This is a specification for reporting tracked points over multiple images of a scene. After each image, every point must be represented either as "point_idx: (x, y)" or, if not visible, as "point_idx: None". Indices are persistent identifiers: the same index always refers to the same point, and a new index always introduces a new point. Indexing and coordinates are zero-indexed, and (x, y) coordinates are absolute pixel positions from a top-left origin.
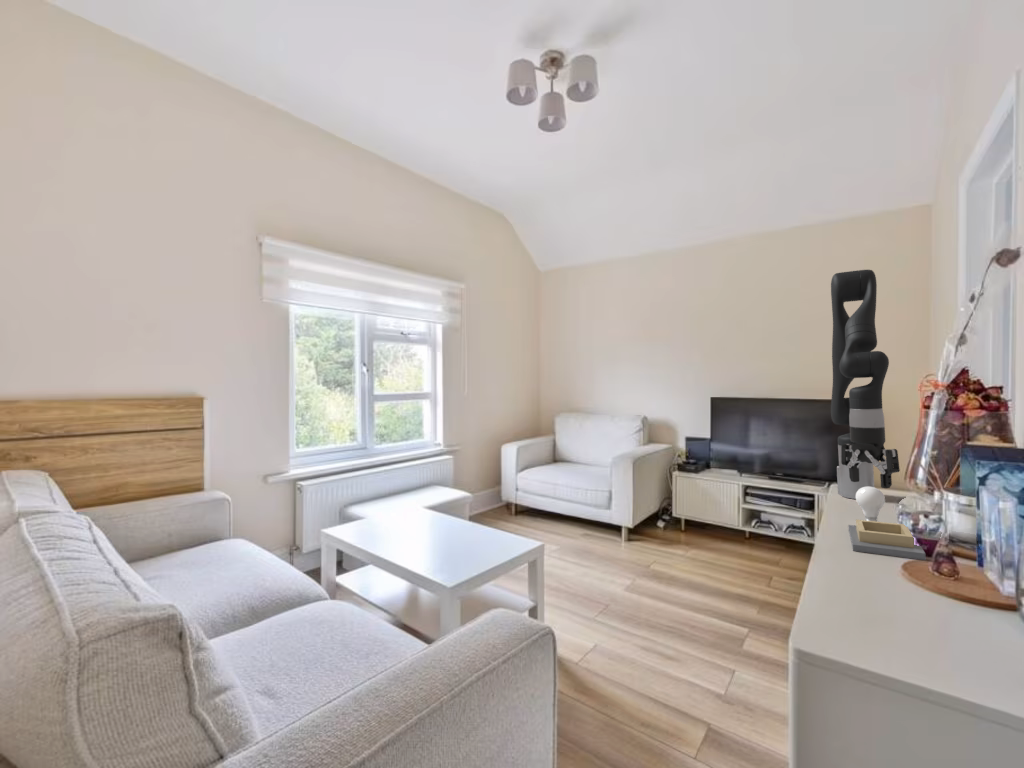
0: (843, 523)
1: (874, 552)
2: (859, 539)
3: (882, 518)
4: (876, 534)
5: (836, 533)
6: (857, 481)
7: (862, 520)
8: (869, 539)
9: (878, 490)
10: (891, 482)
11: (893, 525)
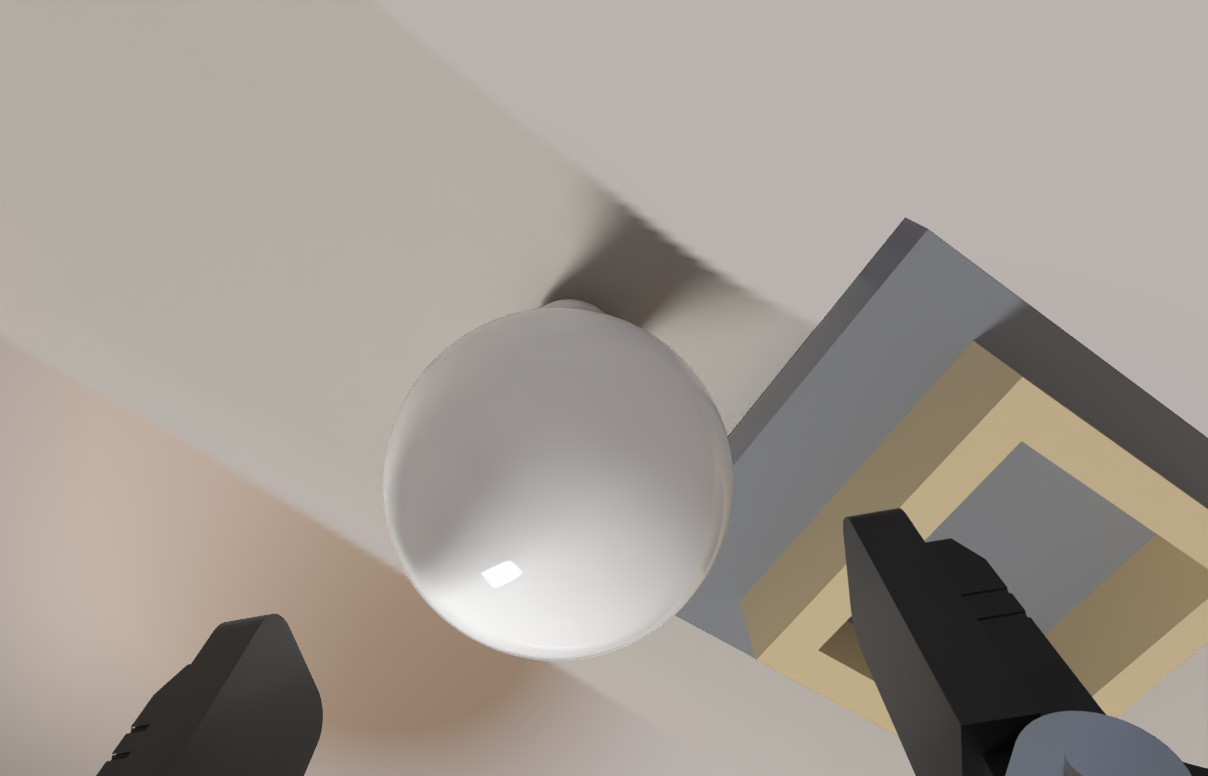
0: None
1: None
2: None
3: (303, 17)
4: None
5: (673, 667)
6: (291, 642)
7: (798, 632)
8: None
9: (666, 503)
10: (1006, 589)
11: (978, 478)
